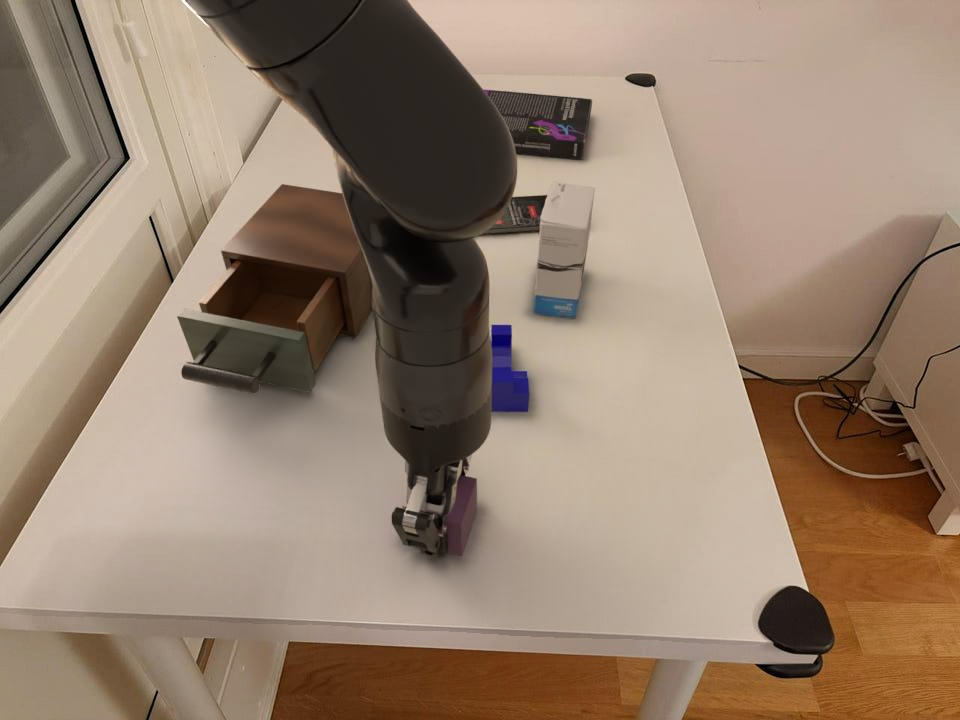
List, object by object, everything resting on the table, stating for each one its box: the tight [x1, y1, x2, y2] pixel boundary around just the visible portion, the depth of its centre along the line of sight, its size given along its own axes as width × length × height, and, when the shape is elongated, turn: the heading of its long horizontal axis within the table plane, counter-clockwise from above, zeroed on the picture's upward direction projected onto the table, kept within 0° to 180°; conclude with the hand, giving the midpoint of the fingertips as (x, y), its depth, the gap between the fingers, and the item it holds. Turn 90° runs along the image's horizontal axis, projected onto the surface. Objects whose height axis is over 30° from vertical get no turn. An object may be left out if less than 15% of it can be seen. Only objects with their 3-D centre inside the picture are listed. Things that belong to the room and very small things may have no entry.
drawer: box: [176, 259, 346, 395], centre depth 71 cm, size 17×12×7 cm
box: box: [482, 88, 593, 160], centre depth 109 cm, size 14×4×20 cm
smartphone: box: [481, 194, 548, 235], centre depth 93 cm, size 7×1×15 cm
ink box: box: [532, 181, 596, 319], centre depth 78 cm, size 8×5×12 cm, turn 168°
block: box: [426, 475, 478, 557], centre depth 58 cm, size 4×4×4 cm
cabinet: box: [220, 183, 373, 339], centre depth 80 cm, size 14×14×9 cm
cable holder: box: [490, 324, 530, 413], centre depth 71 cm, size 8×4×4 cm, turn 0°
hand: (443, 524), depth 60 cm, fingers closed on block, 4 cm apart
